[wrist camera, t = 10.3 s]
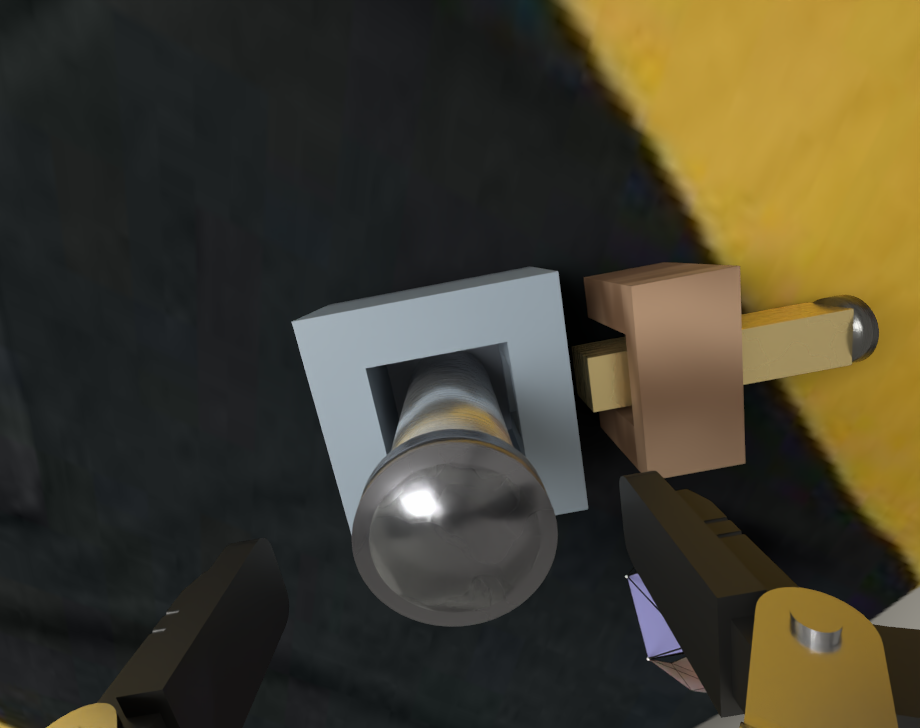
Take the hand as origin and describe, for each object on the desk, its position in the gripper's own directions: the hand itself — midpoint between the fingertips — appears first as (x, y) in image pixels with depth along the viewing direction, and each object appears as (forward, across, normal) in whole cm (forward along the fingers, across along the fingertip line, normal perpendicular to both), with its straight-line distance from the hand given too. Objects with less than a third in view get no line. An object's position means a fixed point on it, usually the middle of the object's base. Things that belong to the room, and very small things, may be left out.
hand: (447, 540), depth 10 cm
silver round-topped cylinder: (+12, 0, 0) cm, 12 cm away
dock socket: (+13, 0, 0) cm, 13 cm away
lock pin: (+12, -12, 0) cm, 17 cm away
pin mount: (+13, -10, 0) cm, 16 cm away
